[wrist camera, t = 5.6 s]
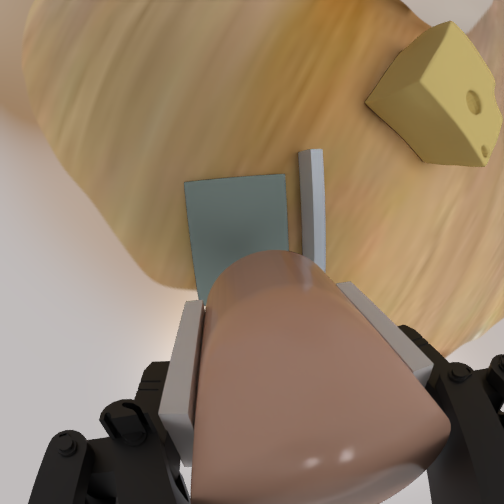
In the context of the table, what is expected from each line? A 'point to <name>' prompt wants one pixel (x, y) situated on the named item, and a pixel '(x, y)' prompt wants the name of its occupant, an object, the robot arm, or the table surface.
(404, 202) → the table surface
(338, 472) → the pink rounded cylinder
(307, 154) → the divider wall
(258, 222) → the mat
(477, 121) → the cheese
